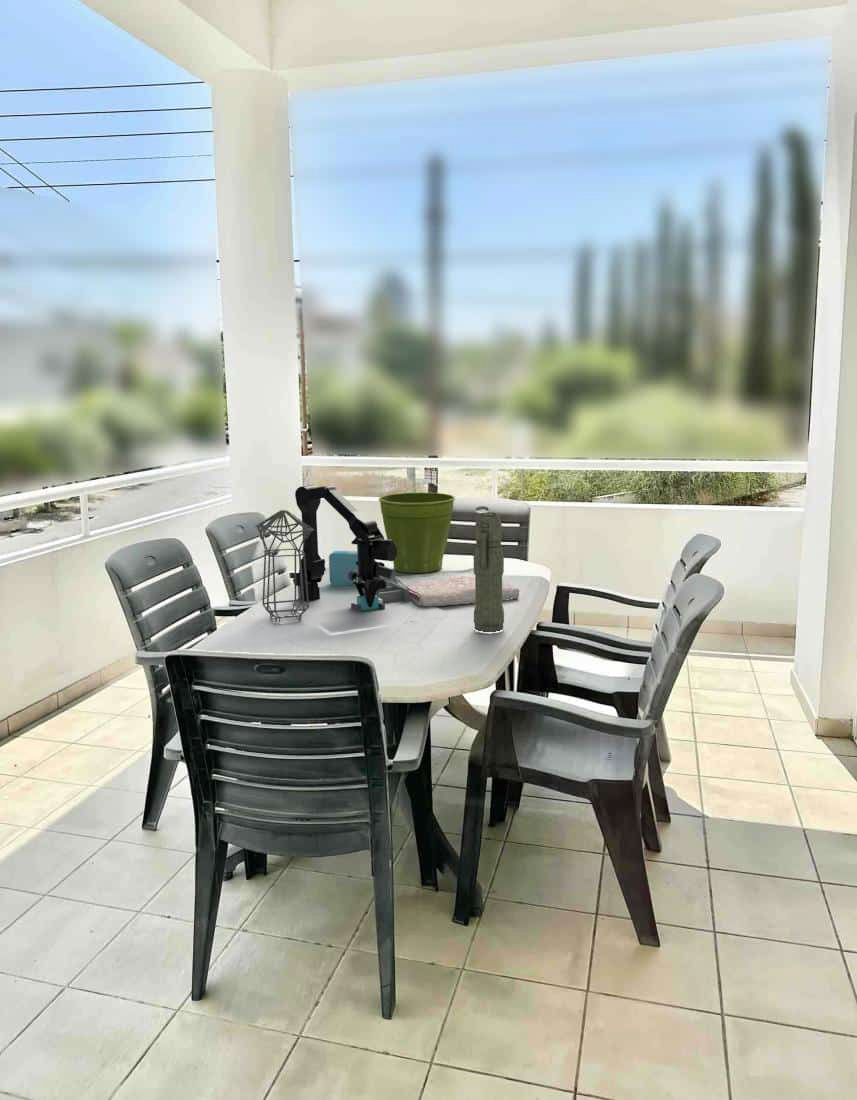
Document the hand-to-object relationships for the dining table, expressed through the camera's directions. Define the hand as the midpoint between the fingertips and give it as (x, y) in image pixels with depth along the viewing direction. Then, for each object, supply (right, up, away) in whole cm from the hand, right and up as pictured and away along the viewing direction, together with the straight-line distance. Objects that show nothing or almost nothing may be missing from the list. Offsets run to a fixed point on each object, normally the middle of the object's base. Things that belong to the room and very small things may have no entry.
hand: (367, 605), depth 283 cm
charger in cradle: (0, -2, 0) cm, 2 cm away
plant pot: (+16, +10, +62) cm, 65 cm away
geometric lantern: (-24, -4, -9) cm, 26 cm away
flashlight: (+38, -6, -24) cm, 45 cm away
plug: (0, -1, 0) cm, 1 cm away
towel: (+28, +2, +21) cm, 36 cm away
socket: (+6, +1, +12) cm, 14 cm away
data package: (-10, +5, +39) cm, 40 cm away
